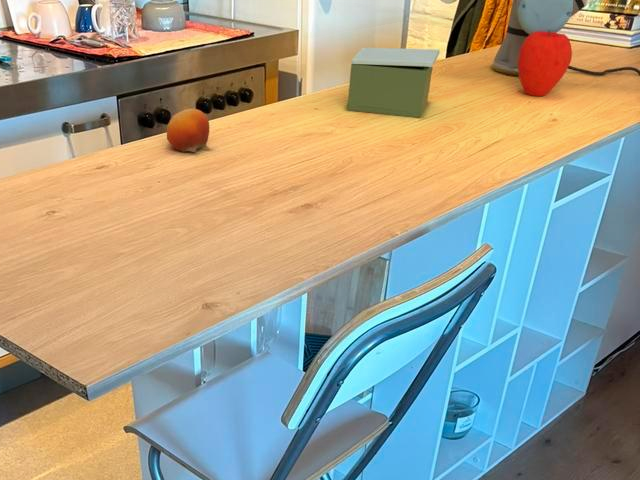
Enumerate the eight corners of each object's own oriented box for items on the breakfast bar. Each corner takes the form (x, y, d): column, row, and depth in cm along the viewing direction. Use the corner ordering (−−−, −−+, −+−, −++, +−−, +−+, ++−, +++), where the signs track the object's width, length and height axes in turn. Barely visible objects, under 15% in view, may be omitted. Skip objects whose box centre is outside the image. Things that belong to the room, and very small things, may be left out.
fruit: (202, 151, 147) (182, 106, 144) (172, 167, 152) (153, 124, 149) (226, 141, 152) (208, 97, 149) (197, 157, 157) (179, 115, 155)
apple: (564, 92, 196) (580, 28, 188) (559, 102, 188) (575, 36, 179) (514, 86, 199) (528, 23, 191) (507, 96, 191) (520, 31, 182)
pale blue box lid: (439, 53, 178) (439, 49, 178) (432, 66, 168) (433, 62, 167) (362, 51, 182) (362, 47, 181) (351, 63, 172) (351, 59, 171)
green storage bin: (427, 102, 185) (434, 57, 179) (420, 117, 174) (427, 71, 169) (358, 95, 188) (362, 51, 182) (347, 110, 177) (351, 64, 172)
